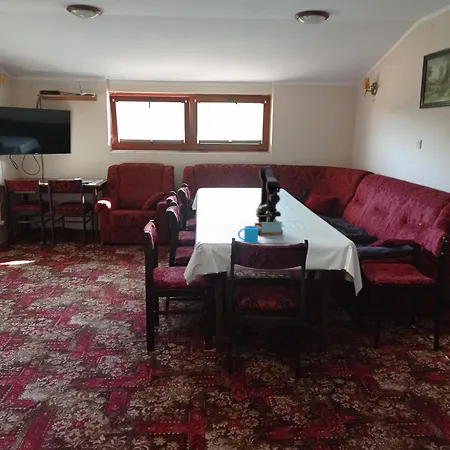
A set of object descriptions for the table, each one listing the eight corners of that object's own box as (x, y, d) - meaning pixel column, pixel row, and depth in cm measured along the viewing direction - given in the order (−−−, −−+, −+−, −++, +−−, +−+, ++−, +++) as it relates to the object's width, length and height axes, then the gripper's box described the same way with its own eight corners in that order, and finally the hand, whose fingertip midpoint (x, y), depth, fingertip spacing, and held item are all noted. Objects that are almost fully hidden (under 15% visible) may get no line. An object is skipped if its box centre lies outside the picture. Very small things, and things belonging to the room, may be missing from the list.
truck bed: (252, 231, 272) (253, 222, 271) (276, 230, 276) (276, 222, 275) (258, 235, 261) (259, 226, 259) (283, 234, 265) (283, 226, 264)
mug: (256, 239, 252) (257, 225, 250) (258, 242, 244) (259, 229, 242) (236, 238, 251) (237, 225, 249) (238, 242, 243) (239, 228, 241)
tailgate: (260, 232, 261) (261, 222, 259) (281, 232, 264) (281, 221, 263) (261, 233, 260) (261, 222, 258) (281, 232, 263) (282, 221, 262)
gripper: (254, 198, 267) (253, 222, 270) (264, 203, 249) (263, 228, 252) (270, 198, 269) (269, 221, 273) (281, 203, 252) (280, 228, 255)
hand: (270, 225), depth 263 cm, fingers closed
